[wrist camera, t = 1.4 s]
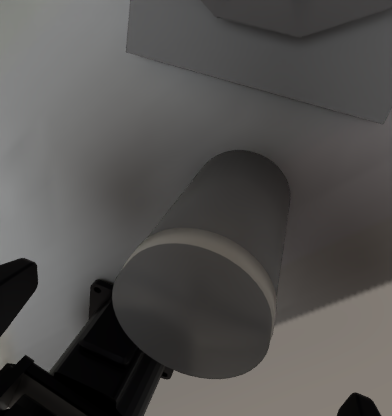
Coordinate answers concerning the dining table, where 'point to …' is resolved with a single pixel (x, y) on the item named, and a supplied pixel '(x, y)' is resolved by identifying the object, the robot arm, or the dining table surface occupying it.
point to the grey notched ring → (277, 47)
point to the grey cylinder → (210, 271)
